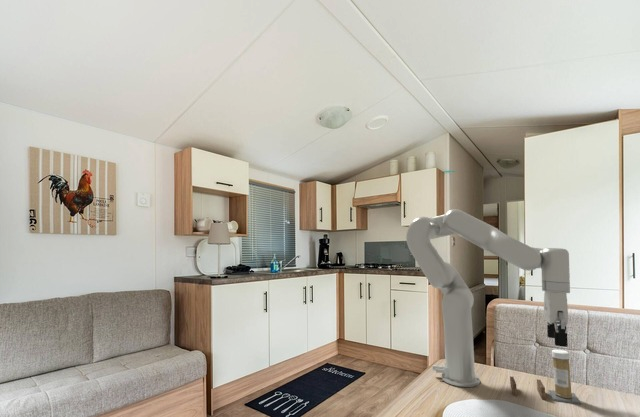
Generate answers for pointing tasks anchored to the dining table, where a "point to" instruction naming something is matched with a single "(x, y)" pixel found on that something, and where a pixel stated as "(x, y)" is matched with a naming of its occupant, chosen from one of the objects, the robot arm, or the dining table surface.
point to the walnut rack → (539, 388)
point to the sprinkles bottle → (561, 373)
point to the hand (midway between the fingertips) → (557, 341)
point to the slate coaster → (560, 399)
